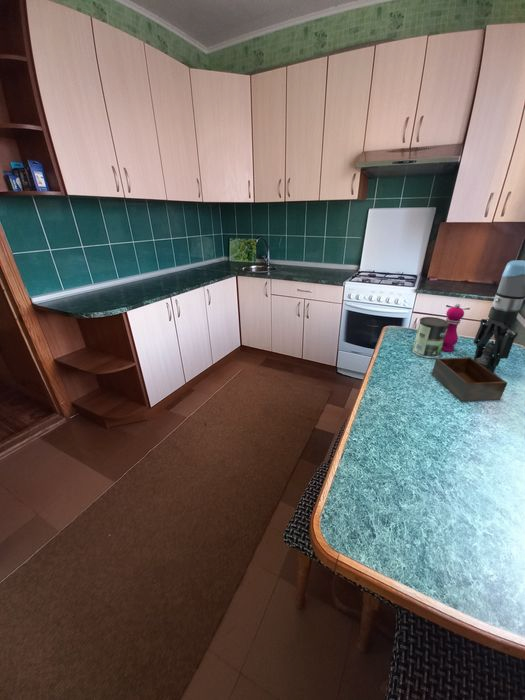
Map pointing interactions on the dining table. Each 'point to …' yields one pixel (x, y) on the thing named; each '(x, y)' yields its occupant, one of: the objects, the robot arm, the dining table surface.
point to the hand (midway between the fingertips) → (482, 367)
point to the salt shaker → (486, 354)
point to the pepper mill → (452, 327)
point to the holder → (468, 379)
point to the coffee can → (430, 337)
